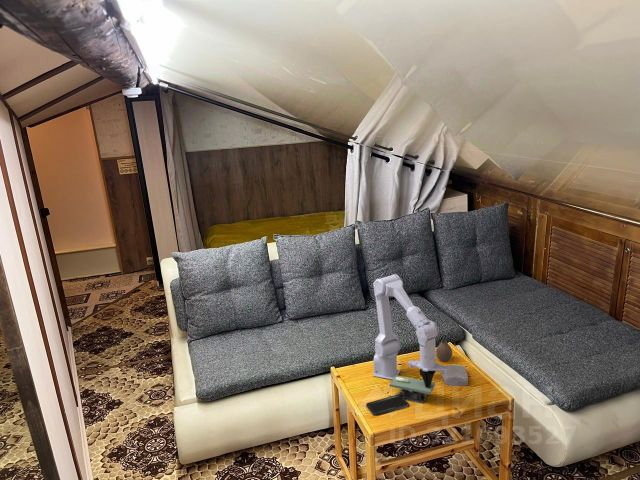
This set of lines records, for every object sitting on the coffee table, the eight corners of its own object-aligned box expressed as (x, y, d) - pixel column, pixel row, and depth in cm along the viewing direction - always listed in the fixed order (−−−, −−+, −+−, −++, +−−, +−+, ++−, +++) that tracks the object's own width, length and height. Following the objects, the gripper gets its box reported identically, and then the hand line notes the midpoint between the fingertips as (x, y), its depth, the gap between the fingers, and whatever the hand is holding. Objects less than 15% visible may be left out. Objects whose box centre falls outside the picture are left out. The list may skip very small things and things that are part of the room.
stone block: (444, 390, 185) (470, 386, 182) (442, 379, 184) (467, 375, 182) (442, 375, 196) (466, 371, 194) (440, 365, 195) (464, 361, 193)
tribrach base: (397, 398, 178) (397, 390, 177) (402, 388, 184) (402, 381, 183) (423, 403, 174) (422, 396, 173) (427, 393, 180) (427, 386, 179)
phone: (364, 403, 175) (399, 393, 180) (365, 406, 175) (400, 396, 180) (373, 415, 168) (410, 404, 172) (374, 417, 168) (410, 407, 173)
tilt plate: (389, 388, 179) (389, 380, 178) (395, 379, 185) (395, 371, 184) (430, 396, 171) (430, 388, 171) (435, 386, 177) (435, 378, 176)
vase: (435, 356, 208) (435, 338, 206) (450, 356, 207) (450, 338, 205) (437, 363, 201) (437, 345, 199) (453, 363, 200) (453, 345, 198)
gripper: (405, 355, 171) (406, 388, 175) (444, 362, 165) (445, 396, 168) (411, 347, 177) (411, 378, 181) (449, 353, 171) (449, 386, 174)
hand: (428, 386), depth 175 cm, fingers closed, pressing on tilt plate
